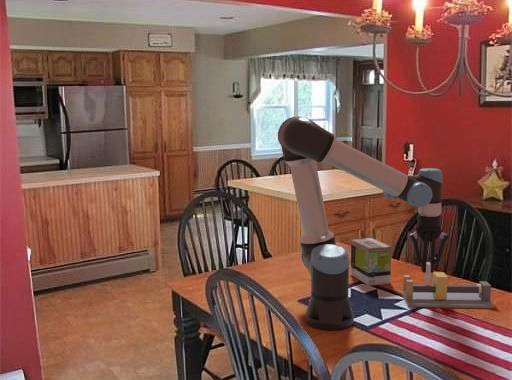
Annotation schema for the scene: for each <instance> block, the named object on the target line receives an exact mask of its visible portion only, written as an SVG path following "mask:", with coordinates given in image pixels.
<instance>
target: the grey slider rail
mask: <svg viewBox="0 0 512 380" xmlns="http://www.w3.org/2000/svg"><path fill="white" fill-rule="evenodd" d="M402 282H403V283H402V285H403V286H402V291H401V296H402V298H403V300H404V302H405V304H406V306H407V307H408V308H453V309H454V308H456V309H458V308H461V309H495V305H494V303H493V302H491V294H492V293H491V292H492V285H491V284H490V283H489V282H488V281H487V280H486V281H483V280H480V281H478V282H479V283H476V284H448V283H447V300H439V299H435V297H434V296H433V295H432V293H435V288H436V286H435V284H433V283H429V284H428V283H414V280H413V279H411V275H408V274H407V275H403V280H402Z"/></svg>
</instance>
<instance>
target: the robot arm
mask: <svg viewBox="0 0 512 380" xmlns="http://www.w3.org/2000/svg"><path fill="white" fill-rule="evenodd" d="M277 130H278V132H277V140H278V143H279V144H280V147H281V151H282V156H283V157H282V158H283V162H284V163H286V164H287V165H288V166H289V168H290V174H291V179H292V184H293V188H294V193H295V199H296V203H297V209H298V214H299V219H300V223H301V224H300V225H301V229H302V234H303V235H302V236H301V237H300V239H299V243H300V246H301V260H302V261H301V262H302V263H303V265H304V266H305V268H306V270H307V271H308V274H309V275H310V300H309V302H308V305H307V308H306V310H305V311H306V312H305V322H306V324H307V325H309V326H310V327H312V328H315V329H319V330H326V331H339V330H344V329H348V328H350V327H352V325H354V322H355V320H354V319H355V317H354V315H355V314H354V311H353V309H352V305H351V302H350V300H349V278H350V276H349V274H350V273H349V272H350V271H349V270H350V267H349V266H350V258H349V253H348V250H347V249H346V248H344V247H342V246H339V245H337V242H336V237H335V234H334V232H332V231H331V230H330V229H329V224H328V220H327V219H328V218H327V214H326V209H325V203H324V202H325V201H324V198H323V193H322V192H323V191H322V188H321V182H320V178H319V172H318V167H317V163H319V164H322V163H327V164H328V165H330V166H332V167H334V168H337V169H338V170H341V171H342V172H345V173H347V174H348V175H351V176H353V177H355V178H357V179H360V180H361V181H363V182H366V184H370V185H371V186H373V187H375V188H377V189H379V190H381V191H382V193H383V196H384V198H386V199H392V200H395V199H399V200H401V201H403V202H404V203H408V204H409V205H411V206H412V207H417V213H418V215H417V222H416V223H417V227H416V228H415V231H414V232H413V233H409V234H408V236H409V238H410V239H411V242H412V246H413V250H414V255H415V259H416V261H417V262H418V263H421V267H420V268H421V272H422V273H423V275H424V276H423V280H424V282H425V284H428V283H429V284H431V275H432V274H433V272H435V271H434V270H435V264H436V263H439V262H440V261H441V258H442V255H443V251H444V247H445V246H446V245H445V244H446V242H447V240H448V239H449V235H448V234H447V233H445V232H443V230H442V224H441V223H442V222H441V221H442V216H441V214H442V197H443V196H442V193H443V183H444V182H443V171H442V170H441V169H439V168H435V167H433V168H431V167H427V168H425V167H424V168H420V169H419V170H418V174H415V175H407V174H405V173H404V172H402V171H400V170H397V169H395V168H394V167H392V166H390V165H388V164H386V163H384V162H382V161H380V160H378V159H376V158H374V157H372V156H370V155H368V154H366V153H364V152H362V151H360V150H358V149H357V148H354V147H352V146H351V145H349V144H346V143H344V142H342V141H341V140H338V139H337V138H336V137H337V136H336V135H335V134H334V133H332V132H330V131H328V130H326V129H325V128H324V127H322V126H320V125H319V124H318V123H316V122H315V121H313V120H312V119H310V118H307V117H303V116H300V115H299V116H291V117H289V118H287V119H285V120H284V121H283V122H282V123H281V124H280V125H279V128H278V129H277ZM418 237H419V239H421V251H420V248H419V245H418V244H419V243H418V241H417V239H418ZM438 238H440V239H439V242H438V245H437V249H436V248H435V247H436V241H437V239H438ZM428 242H429V243H428ZM428 244H429V248H428ZM428 249H429V250H428ZM420 252H421V254H420ZM427 255H428V261H427ZM431 273H432V274H431Z"/></svg>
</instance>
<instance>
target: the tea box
mask: <svg viewBox="0 0 512 380" xmlns="http://www.w3.org/2000/svg"><path fill="white" fill-rule="evenodd" d="M350 243H351V244H350V275H351V276H353V277H355V278H356V279H358V280H359V281H361V282H362V283H364V284H365V285H367V286H378V285H387V284H388V285H389V284H390V283H391V273H392V246H391V245H389V244H387V243H385V242H382V241H380V240H378V239H376V238H373V237H368V238H367V237H366V238H356V239H351V241H350Z"/></svg>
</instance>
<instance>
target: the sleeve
mask: <svg viewBox="0 0 512 380" xmlns="http://www.w3.org/2000/svg"><path fill="white" fill-rule="evenodd" d="M448 278H449V277H448V276H447V274H446V273H445V272H443V271H434V272H433V273H432V284H435V286H436V288H435V293H432V295H433V296H434V297H435V299H439V300H447V284H448V280H449V279H448Z"/></svg>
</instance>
